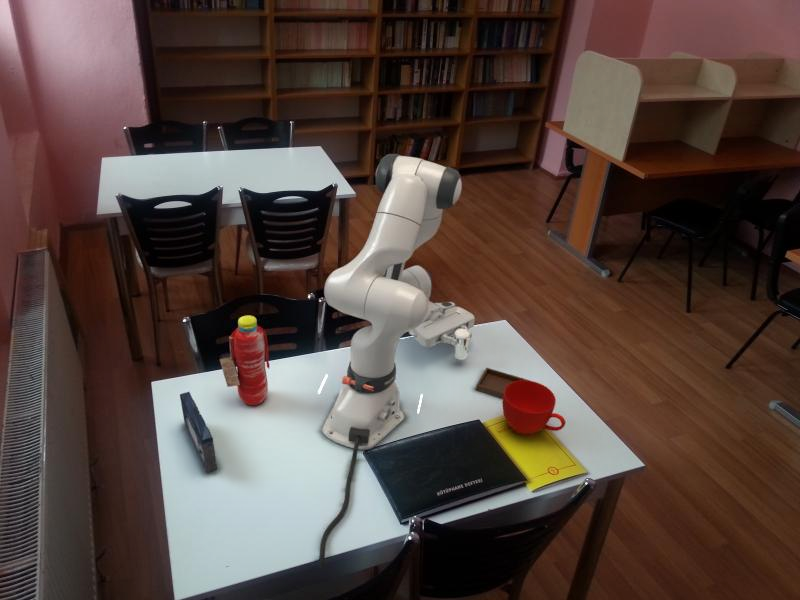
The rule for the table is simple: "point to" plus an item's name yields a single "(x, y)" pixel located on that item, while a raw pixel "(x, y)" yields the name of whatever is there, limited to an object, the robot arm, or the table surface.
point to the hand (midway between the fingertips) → (463, 339)
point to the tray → (495, 382)
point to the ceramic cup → (529, 407)
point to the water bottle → (247, 361)
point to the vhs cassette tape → (198, 432)
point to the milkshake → (461, 343)
